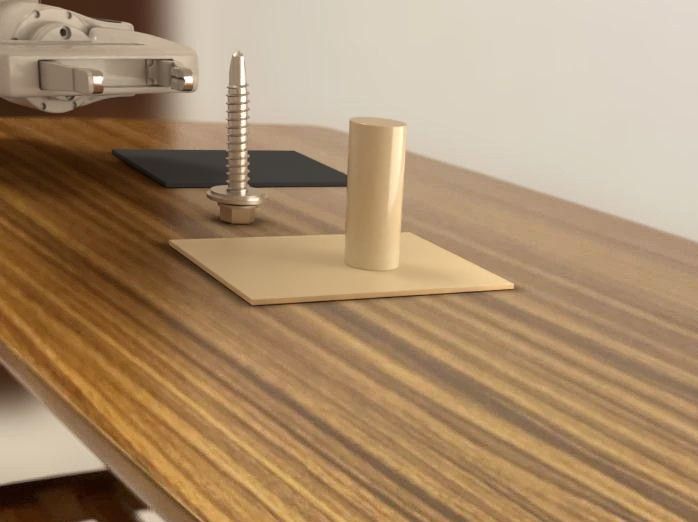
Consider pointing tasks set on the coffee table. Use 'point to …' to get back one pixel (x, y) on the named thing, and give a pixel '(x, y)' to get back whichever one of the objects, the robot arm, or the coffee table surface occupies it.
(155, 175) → the slate mat
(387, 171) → the cream peg
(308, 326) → the coffee table surface
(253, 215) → the screw
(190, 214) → the coffee table surface
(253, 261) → the cream mat
